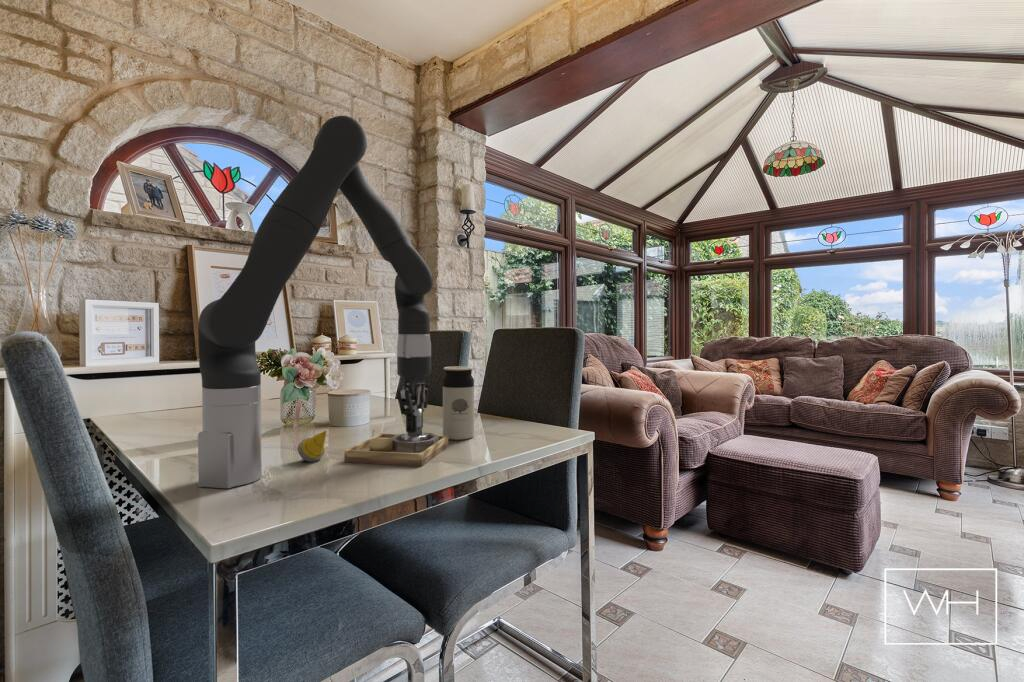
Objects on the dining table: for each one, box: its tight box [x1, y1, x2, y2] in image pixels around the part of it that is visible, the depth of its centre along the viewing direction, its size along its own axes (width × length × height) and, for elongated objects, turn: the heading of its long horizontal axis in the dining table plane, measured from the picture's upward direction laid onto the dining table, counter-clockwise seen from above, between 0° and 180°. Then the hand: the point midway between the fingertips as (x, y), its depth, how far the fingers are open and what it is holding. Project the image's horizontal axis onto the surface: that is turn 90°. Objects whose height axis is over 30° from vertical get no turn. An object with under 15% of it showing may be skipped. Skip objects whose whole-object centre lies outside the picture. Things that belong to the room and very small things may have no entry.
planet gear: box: [401, 408, 429, 442], centre depth 109 cm, size 6×6×8 cm
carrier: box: [343, 432, 449, 467], centre depth 106 cm, size 17×17×4 cm
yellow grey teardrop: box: [297, 430, 327, 463], centre depth 100 cm, size 5×5×10 cm
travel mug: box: [442, 365, 475, 441], centre depth 123 cm, size 8×8×18 cm
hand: (414, 430), depth 109 cm, fingers closed on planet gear, 3 cm apart
